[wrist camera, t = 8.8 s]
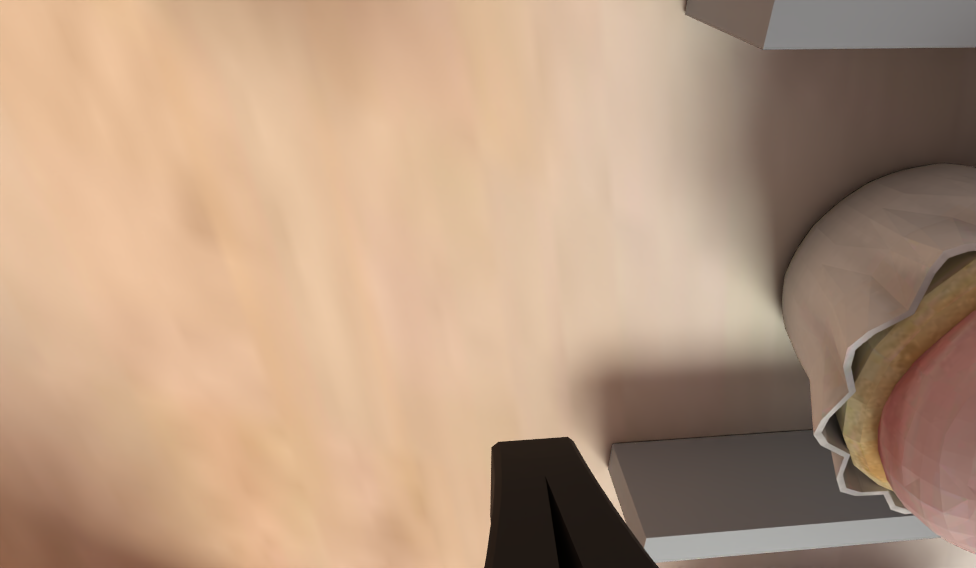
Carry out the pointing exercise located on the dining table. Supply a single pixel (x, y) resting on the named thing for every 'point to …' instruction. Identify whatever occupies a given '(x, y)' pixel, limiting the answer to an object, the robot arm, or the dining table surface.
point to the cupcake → (895, 342)
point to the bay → (781, 455)
